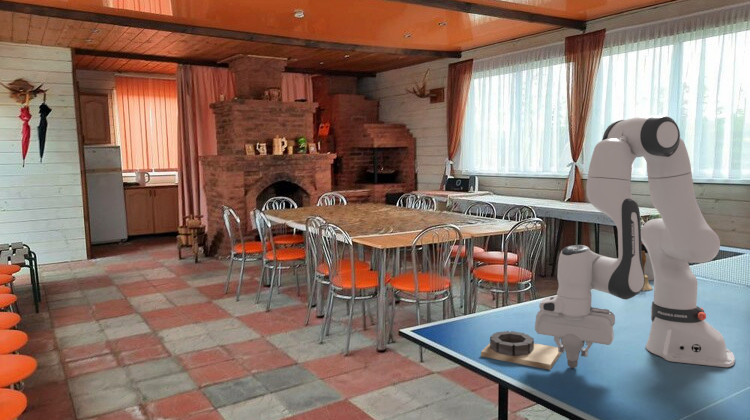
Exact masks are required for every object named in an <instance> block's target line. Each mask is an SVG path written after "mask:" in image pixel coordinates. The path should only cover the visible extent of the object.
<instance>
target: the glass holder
mask: <svg viewBox="0 0 750 420" xmlns="http://www.w3.org/2000/svg"><path fill="white" fill-rule="evenodd" d="M641 251H645V255H646V263H645V266H644V274H645V275H646V276H648V281H654V273H653V268H652V264H651V260H650V256H649V253H648V251H647V249H646V247H645V245H644V244H643V243H641Z"/></svg>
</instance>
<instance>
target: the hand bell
mask: <svg viewBox="0 0 750 420" xmlns="http://www.w3.org/2000/svg"><path fill="white" fill-rule="evenodd" d="M645 263H646V255H645V251H642V265H643V269H644V266H645ZM652 290H654V287H652V286H651V284H650V282H649V280H648V276H646V275H645V284H644V287H643V289H642V290H641V291H646V292H647V291H652Z"/></svg>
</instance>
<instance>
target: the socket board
mask: <svg viewBox="0 0 750 420" xmlns="http://www.w3.org/2000/svg"><path fill="white" fill-rule="evenodd" d="M562 354H563V353H561V352H558V346H552V345H546V344H541V343H536V342H535V340H534V338H533V337H532V336H530V335H529V334H527V333H524V332H518V331H509V330H505V331H497V332H494V333H493V334H491V336H489V343H488V344H487V345H486V346H485V347H484V348H483V349H482V350H481V351H480V357H483V358H488V359H493V360H498V361H503V362H509V363H512V364H518V365H523V366H530V367H534V368H538V369H545V370H549V371H551V370H552V368H553V367H554V366H555V364H556V362H557V361H558V360H559V358H560V357H561V355H562Z"/></svg>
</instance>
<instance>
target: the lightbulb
mask: <svg viewBox="0 0 750 420" xmlns="http://www.w3.org/2000/svg"><path fill="white" fill-rule="evenodd" d="M560 342H561V344H562V345H563V347H564V349H565V354H566V357H565V358H566V360H567V366H568V367H569V368H570V369H575V368H577V367H578V365H579V363H578V360H579V356H580V353H581V350H582V348H583V347H585V344H586V341H581V340H580V339H579V338H578V337H577V336H576V335H574V334H566V335H565V336H563V337H562V338H561V339H560Z"/></svg>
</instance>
